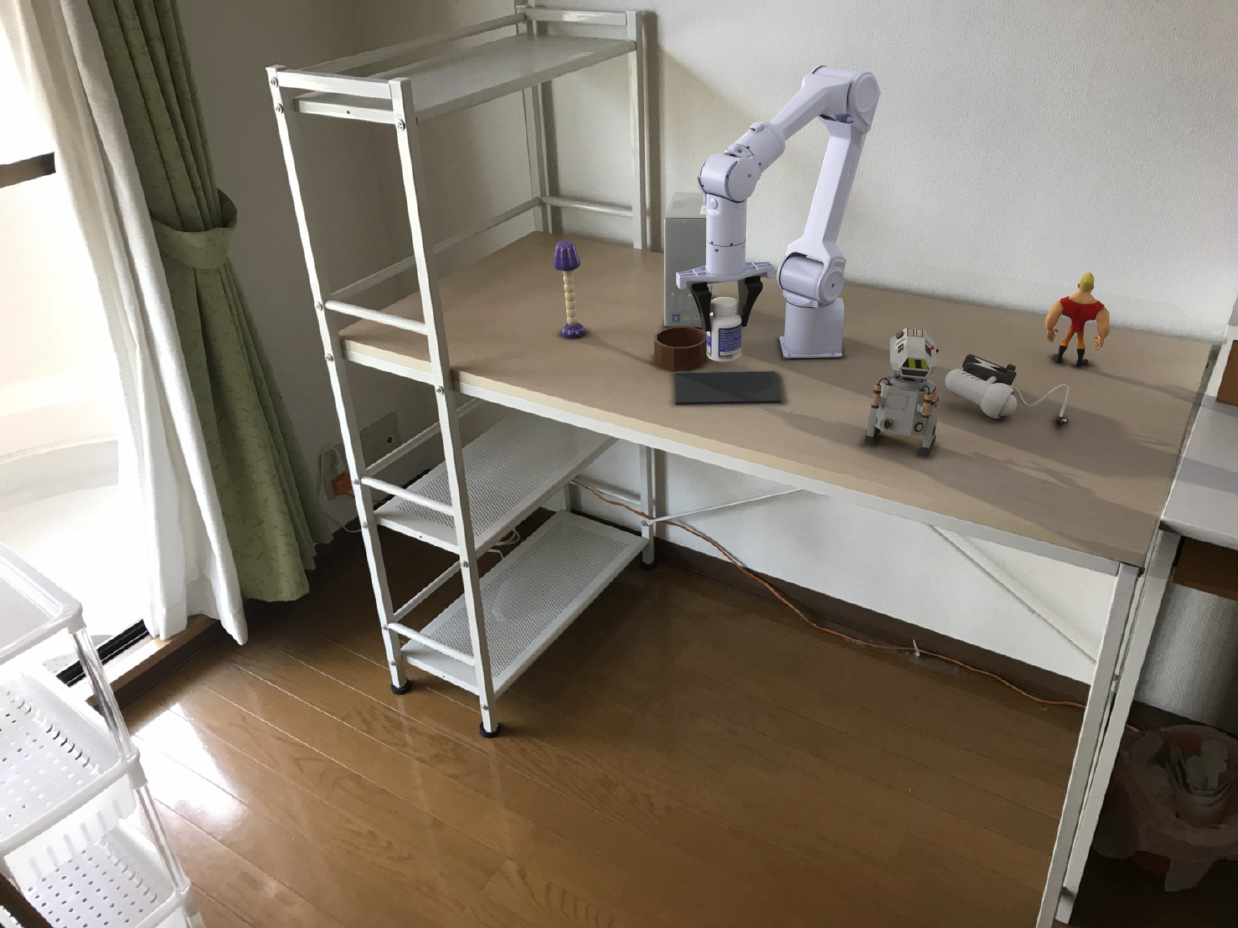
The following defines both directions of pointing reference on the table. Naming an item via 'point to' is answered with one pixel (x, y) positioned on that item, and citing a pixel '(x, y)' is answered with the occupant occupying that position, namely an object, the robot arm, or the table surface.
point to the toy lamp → (568, 285)
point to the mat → (726, 388)
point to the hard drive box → (683, 256)
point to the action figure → (1079, 318)
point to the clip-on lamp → (992, 387)
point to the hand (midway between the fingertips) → (724, 326)
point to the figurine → (907, 391)
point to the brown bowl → (680, 348)
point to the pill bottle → (724, 330)
